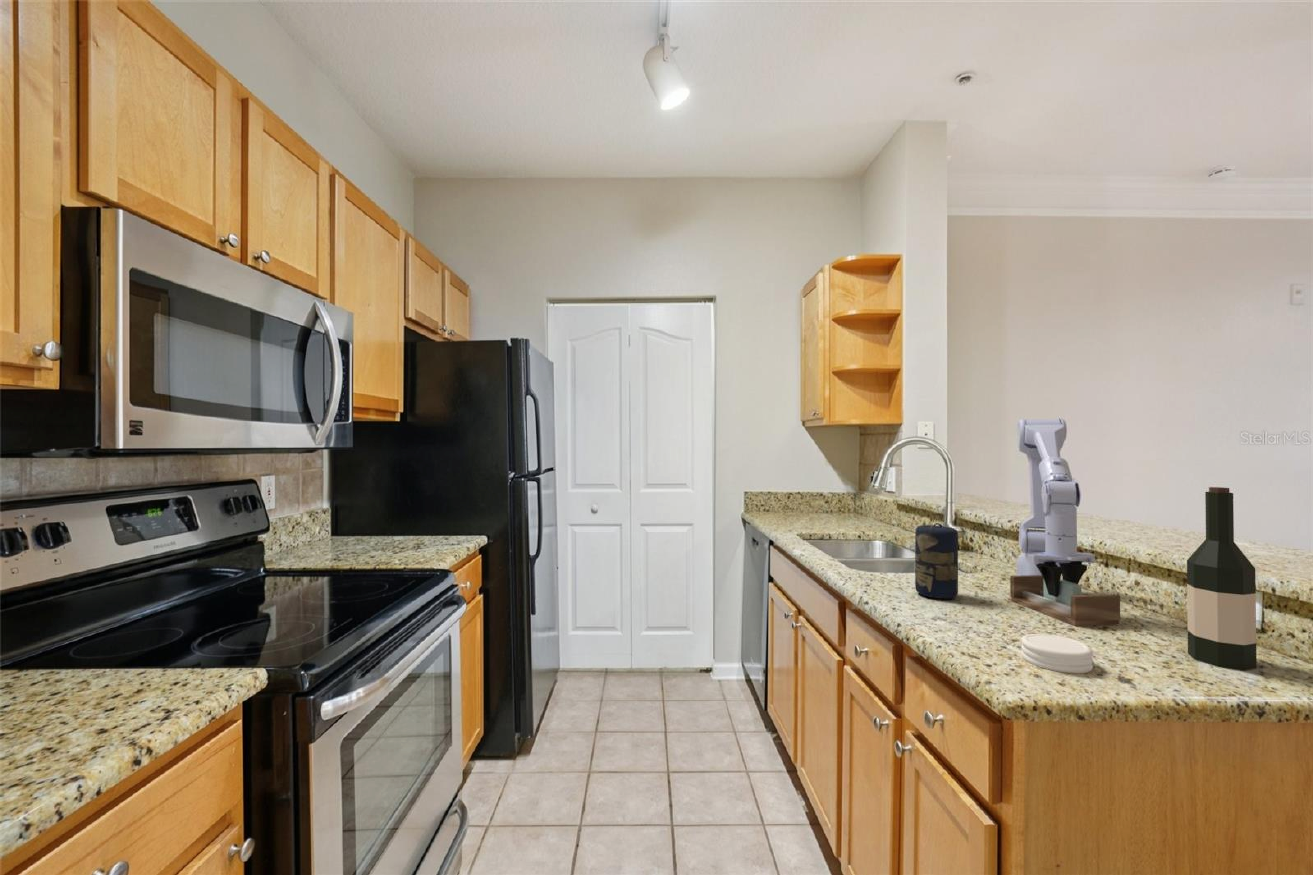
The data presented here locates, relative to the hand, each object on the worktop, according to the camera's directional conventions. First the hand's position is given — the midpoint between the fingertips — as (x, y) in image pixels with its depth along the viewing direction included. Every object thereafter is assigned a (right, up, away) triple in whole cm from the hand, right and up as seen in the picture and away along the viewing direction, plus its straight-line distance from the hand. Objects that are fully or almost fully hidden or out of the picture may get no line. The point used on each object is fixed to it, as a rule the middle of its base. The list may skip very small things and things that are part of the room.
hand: (1061, 595), depth 123 cm
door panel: (0, -3, 0) cm, 3 cm away
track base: (0, -4, 0) cm, 4 cm away
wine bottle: (+7, -4, -27) cm, 29 cm away
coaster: (-22, -4, -28) cm, 36 cm away
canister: (-21, -4, +13) cm, 25 cm away
